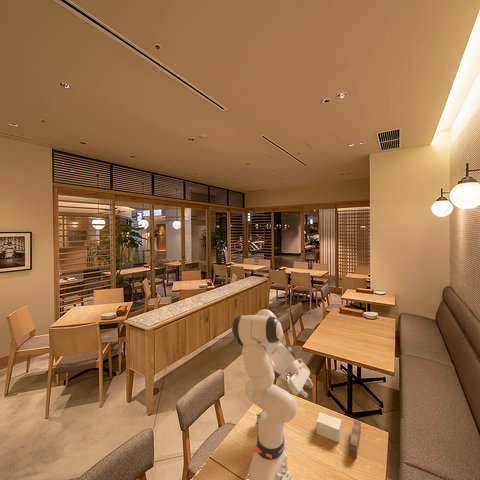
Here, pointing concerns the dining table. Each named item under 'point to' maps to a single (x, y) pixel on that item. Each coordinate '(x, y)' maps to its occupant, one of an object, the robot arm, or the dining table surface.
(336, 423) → the cream rectangular block
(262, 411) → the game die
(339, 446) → the dining table surface
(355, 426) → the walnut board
